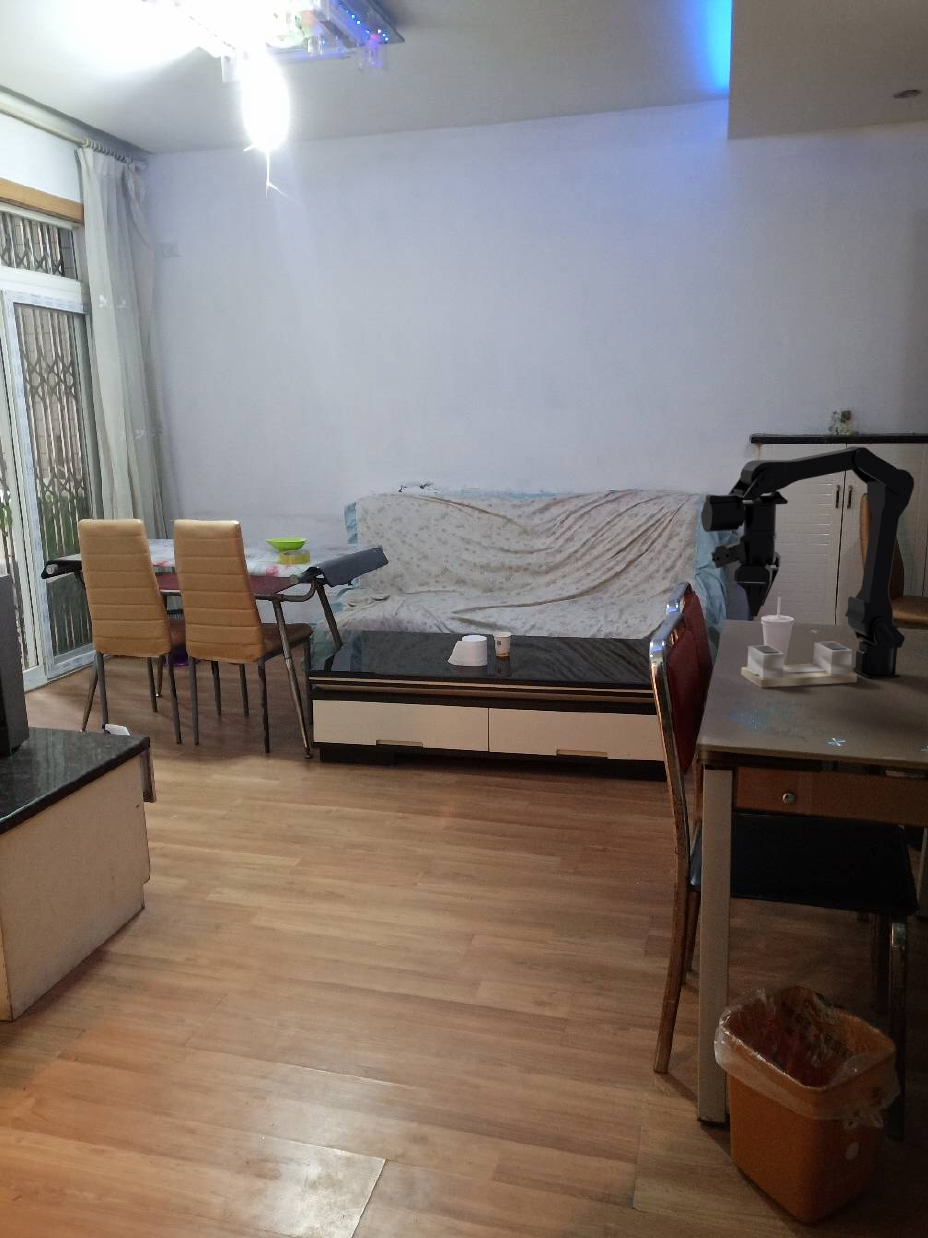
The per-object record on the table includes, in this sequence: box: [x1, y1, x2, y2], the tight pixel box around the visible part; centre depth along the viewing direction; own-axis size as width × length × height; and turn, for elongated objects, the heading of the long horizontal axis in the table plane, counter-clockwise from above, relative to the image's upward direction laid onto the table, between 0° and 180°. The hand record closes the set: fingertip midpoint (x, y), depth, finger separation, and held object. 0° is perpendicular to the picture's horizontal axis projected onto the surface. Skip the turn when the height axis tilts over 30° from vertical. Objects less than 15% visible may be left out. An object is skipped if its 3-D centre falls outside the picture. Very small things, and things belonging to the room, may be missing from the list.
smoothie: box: [760, 596, 795, 665], centre depth 195 cm, size 6×6×14 cm
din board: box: [740, 641, 858, 689], centre depth 187 cm, size 19×9×6 cm, turn 97°
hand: (757, 611), depth 184 cm, fingers open, 9 cm apart
